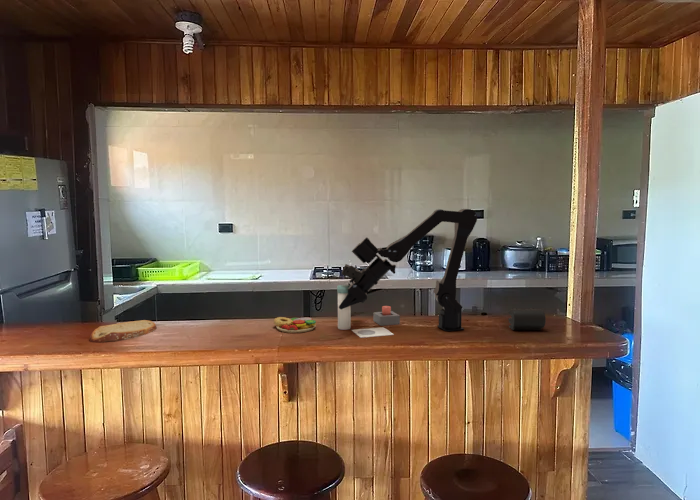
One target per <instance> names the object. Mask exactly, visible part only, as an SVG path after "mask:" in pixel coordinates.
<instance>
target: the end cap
mask: <svg viewBox="0 0 700 500" xmlns="http://www.w3.org/2000/svg"><path fill="white" fill-rule="evenodd" d="M508 315H509V316H510V317H509V318H508V323H509V324H508V327H509V328H510V329H511V330H512V331H518V330H519V331H541V330H543V329H544V328H545V326H546V324H547V323H546V319H547V318H546V313H545V311H544V310H543V309H539V308H538V309H536V308H530V307H529V308H526V309H520V308H514V307H513V308H509V310H508Z"/></svg>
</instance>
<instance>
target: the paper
mask: <svg viewBox="0 0 700 500" xmlns="http://www.w3.org/2000/svg"><path fill="white" fill-rule="evenodd" d="M351 331H352V332H353V333H354V334H355V335H356V336H358V337H359V338H361V339H363V338H372V337H374V338H375V337H384V336H385V337H386V336H394V335H395V334H394V333H392V332H391V331H390V330H389V329H387V328H385V327H370V328H358V329H351Z"/></svg>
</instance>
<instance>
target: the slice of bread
mask: <svg viewBox="0 0 700 500" xmlns="http://www.w3.org/2000/svg"><path fill="white" fill-rule="evenodd" d="M157 329H158V328H157V323H155V322H154V321H152V320H146V319H143V320H142V319H141V320H134V321H133V320H132V321H125V322H118V323H114V324H113V323H112V324H107V325H100V326H98V327H97V328H95V329H94V330H93V331H92V332H91V334H89V335H90V336H89V341H90V343H97V344H100V343H107V342H108V343H110V342H119V341H121V342H122V341H126V340H130V339H135V338H139V337H141V336H145V335H148V334H151V333H153V332H155V331H156V330H157Z"/></svg>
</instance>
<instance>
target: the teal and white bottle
mask: <svg viewBox="0 0 700 500" xmlns="http://www.w3.org/2000/svg"><path fill="white" fill-rule="evenodd" d="M350 285H351V284H350ZM350 285H348V284H339V285H337V286H336V287H337V288H336V289H337V291H336V292H337V329H338V330H351V326H352V324H351V323H352V322H351V321H352V320H351V317H352V316H351V315H352V314H351V313H352V312H351V311H352V309H351V306H352V305H351V306H349V307H346V308H343V309H340V308H339V306H340V304H341V303H342V301H343V300H344V299H345V297H346V296H347V294H348V287H350Z"/></svg>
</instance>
